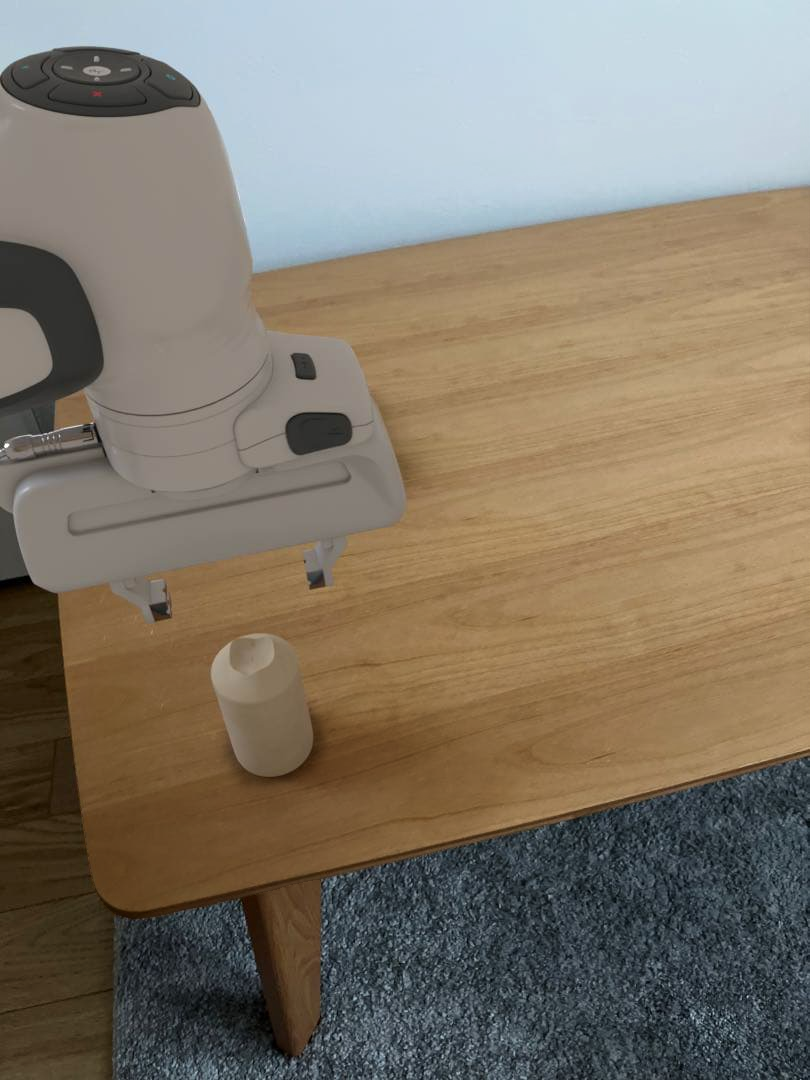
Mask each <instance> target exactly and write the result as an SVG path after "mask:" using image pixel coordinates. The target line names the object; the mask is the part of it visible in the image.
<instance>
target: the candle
mask: <svg viewBox="0 0 810 1080" xmlns="http://www.w3.org/2000/svg"><path fill="white" fill-rule="evenodd" d="M299 662H300V661H299V658H298V654H297V652H296V649H295V648H294V646H293V645H292V644H291V643H290V642H289V641H288V640H286V639H284V638H282V637H280V636H278V635H275V634H271V633H261V632H260V633H259V632H258V633H251V634H245V635H243V636H240V637H237V638H235V639H233V640H232V641H230V642H228V643H227V644H225V645H224V647H222V648H221V650H219V651H218V652H217V654H216V656H215V657H214V659H213V662H212V665H211V668H210V679H211V682H212V685H213V689H214V692H215V695H216V699H217V703H218V705H219V708H220V711H221V712H220V713H221V714H222V718H223V721H224V724H225V727H226V730H227V734H228V737H229V740H230V743H231V746H232V750H233V753H234V755H235V757H236V759H237V761H238V762H239V764H240V765H241V767H243V769H245V770H246V771H247V772H249V773H251V774H253V775H256V776H259V777H263V778H264V777H265V778H274V777H279V776H280V777H281V776H283V775H286V774H289V773H291V772H293V771H295V770H296V769H297V768H299V767H300V766H301V765H302V764H303V763H304V762H305V761H307V759H308V757H309V755H310V754H311V752H312V749H313V745H314V731H313V725H312V719H311V715H310V711H309V710H310V709H309V705H308V701H307V697H306V696H307V695H306V691H305V686H304V682H303V677H302V673H301V668H300V663H299Z"/></svg>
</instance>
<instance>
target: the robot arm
mask: <svg viewBox="0 0 810 1080" xmlns="http://www.w3.org/2000/svg"><path fill="white" fill-rule="evenodd" d="M252 253H253V252H252V247H251V243H250V237H249V232H248V228H247V223H246V219H245V213H244V209H243V205H242V201H241V197H240V192H239V188H238V185H237V180H236V177H235V173H234V170H233V166H232V164H231V159H230V155H229V152H228V150H227V147H226V144H225V142H224V138H223V136H222V133H221V131H220V128H219V125H218V123H217V120H216V119H215V116H214V113H213V112H212V110H211V107H210V106H209V104H208V103H207V101H206V99H205V98H204V96H203V95H202V94H201V93H200V91H199V90H198V88H197V87H196V85H194V83H193V82H191V80H189V79H188V78H187V77H186V76H185V75H183V73H181V72H180V71H178V70H176V69H175V68H173V67H172V66H171V65H169V64H168V63H166V62H164V61H162V60H158V59H155V58H153V57H150V56H147V55H143V54H141V53H140V52H138V51H134V50H129V49H124V48H117V47H108V46H97V45H77V46H76V45H75V46H73V45H72V46H60V47H55V48H53V49H51V50H46V51H42V52H38V53H34V54H29V55H26V56H24V57H21V58H19V59H16V60H15V61H12V63H10V64H9V65H8V66H6V67H5V68H4V69H3V70H2V71H1V72H0V419H1V418H4V417H8V416H9V417H10V416H12V415H16V414H19V413H22V412H25V411H28V410H32V409H35V408H37V407H39V408H40V407H41V406H45V405H48V404H50V403H53V402H56V401H60V400H61V399H64V398H67V397H70V396H71V395H74V394H75V393H78V392H81V391H83V393H84V396H85V398H86V402H87V404H88V407H89V410H90V413H91V416H92V418H93V421H94V422H89V423H83V424H79V425H73V426H67V427H63V428H59V429H57V430H53V431H49V432H48V433H47V432H46V433H42V434H34V435H33V434H25V435H19V436H15V437H12V438H10V439H6V440H5V441H4V443H3V447H1V448H0V507H1V509H3V510H5V511H6V512H8V513H10V514H12V515H13V522H14V529H15V534H16V538H17V542H18V545H19V549H20V552H21V556H22V559H23V563H24V565H25V568H26V570H27V573H28V575H29V577H30V579H31V581H32V583H33V584H34V585H36V586H37V587H39V588H41V589H43V590H45V591H47V592H50V593H52V594H63V593H67V592H72V591H77V590H82V589H88V588H92V587H98V586H102V585H108V586H109V589H110V592H111V593H113V594H115V595H116V596H118V597H120V598H121V599H123V600H124V601H126V602H128V603H130V604H132V605H133V606H136V607H139V608H140V611H141V613H142V616H143V618H144V621H145V623H146V624H152V623H153V624H154V623H157V622H161V621H166V620H170V619H171V620H172V619H173V611H172V608H173V606H172V598H171V594H170V592H169V591H168V586H167V583H166V580H165V579H164V578H163V579H162V578H161V579H157V580H152V581H151V580H149V579H148V578H147V576H152V575H157V574H163V573H166V572H172V571H176V570H182V569H186V568H191V567H192V568H193V567H196V566H202V565H208V564H212V563H216V562H221V561H226V560H232V559H236V558H237V559H238V558H241V557H246V556H251V555H256V554H261V553H262V554H263V553H266V552H271V551H275V550H281V549H286V548H291V547H292V548H293V547H296V546H302V545H306V544H311V543H315V542H317V543H316V544H315V548H311V549H306V550H301V552H302V559H303V563H304V569H305V574H306V578H307V579H306V580H307V584H308V588H309V591H312V590H317V589H321V588H322V589H323V588H326V587H333V586H335V581H334V575H333V570H332V569H333V567H335V565H336V563H337V562H338V560H339V558H341V555H342V554H343V553H344V551H345V549H346V547H347V546H348V542H347V536H350V535H355V534H361V533H366V532H371V531H374V530H380V529H381V530H382V529H387V528H390V527H393V526H395V525H396V524H397V523H398V522H399V521H400V520H401V518H402V517H403V516H404V515H405V513H406V512H407V510H408V499H407V493H406V488H405V483H404V480H403V476H402V472H401V469H400V466H399V462H398V458H397V456H396V453H395V449H394V446H393V443H392V439H391V437H390V434H389V431H388V428H387V426H386V423H385V420H384V418H383V415H382V412H381V410H380V408H379V405H378V404H377V401H376V400H375V398H374V397H373V396H372V395H371V391H370V387H369V384H368V380H367V378H366V376H365V373H364V370H363V367H362V365H361V363H360V361H359V359H358V357H357V355H356V353H355V352H354V350H353V348H352V346H351V345H350V343H349V342H348V341H346V340H343V339H341V338H337V337H329V336H319V335H307V334H299V333H298V334H296V333H287V332H280V331H273V330H267V329H266V327H265V324H264V322H263V320H262V319H261V317H260V315H259V314H258V311H257V309H256V308H255V306H254V303H253V298H252V292H251V291H252V290H251V285H252V279H253V261H254V260H253V254H252Z"/></svg>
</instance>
